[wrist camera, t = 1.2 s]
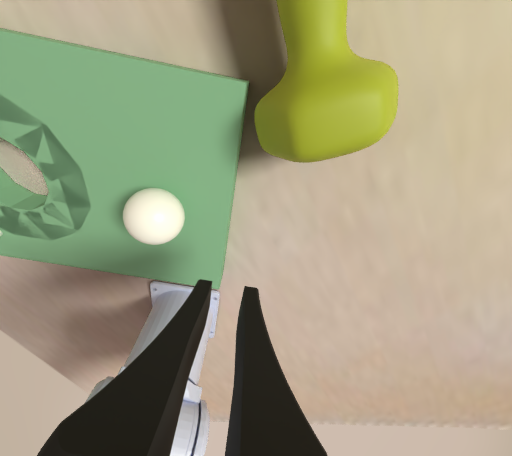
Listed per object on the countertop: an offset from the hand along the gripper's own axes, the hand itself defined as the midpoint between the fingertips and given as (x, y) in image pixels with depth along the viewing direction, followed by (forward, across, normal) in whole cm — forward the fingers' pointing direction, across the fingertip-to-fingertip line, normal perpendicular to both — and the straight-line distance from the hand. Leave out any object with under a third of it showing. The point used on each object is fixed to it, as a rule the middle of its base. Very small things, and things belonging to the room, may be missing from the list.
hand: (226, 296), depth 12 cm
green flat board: (+10, +12, 0) cm, 16 cm away
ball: (+6, +6, 0) cm, 8 cm away
